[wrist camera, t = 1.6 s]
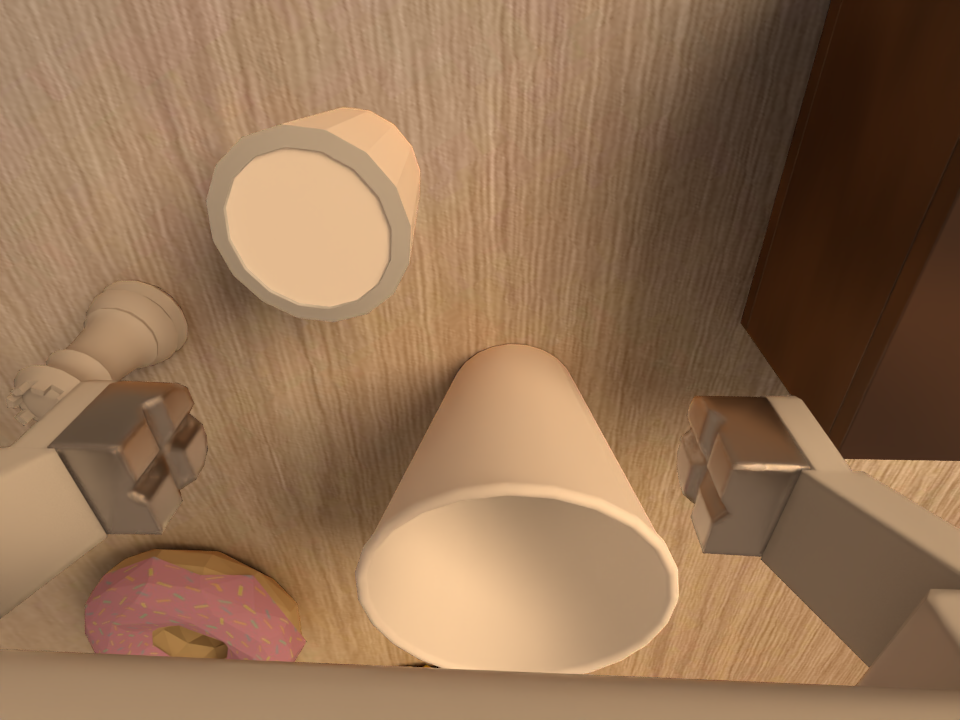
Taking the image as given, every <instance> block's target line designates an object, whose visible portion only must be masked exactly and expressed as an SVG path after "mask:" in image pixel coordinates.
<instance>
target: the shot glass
mask: <svg viewBox="0 0 960 720" xmlns="http://www.w3.org/2000/svg"><path fill="white" fill-rule="evenodd" d="M420 174H421V171H420V168H419V165H418V163H417V160H416V157H415V154H414V151H413V148H412V146H411V144H410V143H409V142H408V141H407V140H406V138H405V137H404V136H403V135H402V133H401V132H400V131H399V130H398V129H397V127H396V126H395V125H394V124H393V123H391V122H389V121H387V120H386V119H384V118H382V117H380V116H379V115H377V114H375V113H373V112H372V111H370V110H362V109H355V108H347V107H341V108H338V109H334V110H331V111H327V112H323V113H320V114H316V115H312V116H309V117H305V118H302V119H298V120H294V121H291V122H287V123H283V124H280V125H277V126H274V127H271V128H268V129H265V130H262V131H258V132H255V133H252V134H249V135H246V136H243V137H241V138H240V139H239V141H238V142H237V143H236V144H235V145H234V146H233V147H232V148H231V149H230V150H229V151H228V152H227V153H226V154H225V155H224V156H223V157H222V159H221V160H220V161H219V162H218V163H217V164H216V165H215V169H214V173H213V177H212V181H211V184H210V188H209V192H208V196H207V199H206V205H207V210H208V216H209V222H210V228H211V234H212V240H213V242H214V243H215V245H216V247H217V249H218V250H219V252H220V254H221V255H222V257H223V259H224V261H225V262H226V264H227V266H228V268H229V269H230V271H231V273H232V274H233V276H235V277H236V278H237V279H238V280H239V281H240V282H241V283H242V284H243V285H245V286H246V287H247V288H248V289H249V290H250V291H251V292H252V293H253V294H255V295H256V296H257V297H258V298H259V299H260V300H261V301H262V302H264V303H266V304H269V305H271V306H273V307H275V308H277V309H279V310H282V311H284V312H286V313H288V314H290V315H292V316H295V317H297V318H302V319H311V320H319V321H328V322H337V321H341V320H345V319H349V318H353V317H357V316H361V315H366V314H368V313H369V312H371V311H372V310H373V309H375V308H376V307H377V306H379V305H380V304H381V303H383V302H384V301H385V300H387V299H388V298H389V297H390V296H392V295H393V294H394V292H395V291H396V289H397V287H398V285H399V283H400V281H401V279H402V277H403V275H404V273H405V271H406V269H407V267H408V265H409V263H410V256H411V249H412V243H413V236H414V229H415V223H416V216H417V209H418V203H419V194H420Z"/></svg>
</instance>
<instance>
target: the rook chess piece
mask: <svg viewBox="0 0 960 720" xmlns="http://www.w3.org/2000/svg"><path fill="white" fill-rule="evenodd" d="M187 330H188V325H187V322H186V320H185V317H184V314H183V312H182V309H181V307H180V306H179V305H178V304H177V303H176V302H175V300H174V299H173V298H172V297H171V296H170V295H168V294H167V293H165V292H164V291H162V290H161V289H159V288H158V287H156V286H153V285H149V284H146V283H143V282H140V281H136V280H130V281H117V282H115V283H113V284H111V285H109V286H107V287H105V288H104V290H103V292H102V293H101V294H99V295H97V296H95V298H94V300H93V302H92V303H91V305H90V307H89V308H88V310H87V312H86V320H85V322H84V329H83V331H82V332H81V333H80V334H79V335H78V336H77V338H76V339H75V340H74V341H73V342H72V343H71V345H69V346H68V347H67V348H66V349H64V350H58V351H56V352H54V353H51V354H50V355H49V357H48V359H47V361H46V365H31V366H28V367H26V368H24V369H21V370H19V372H18V373H17V375H16V377H15V379H14V389H12V390H11V391H10V392H11V393H12V394H11V395H10V396H9V397H7V398H6V402H7V408H13V409H15V408H16V407H18V406H20V408H21V409H22V411H21V412H19V413H18V414H17V415H16V416H15V417H14V418H15V419H16V420H17V421H19V422H20V423H21V424H22V425H23V426H24V425H26V424H27V423H28V422H29V421H30V420H31V419H33V420H35V421H38V420H39V419H41V418H42V417H43V416H44V415H45V414H46V413H47V412H48V411H49V410H50V409H51V408H52V407H54V406H55V405H56V404H57V403H58V402H59V401H60V400H61V399H62V398H63V397H64V396H65V395H67V394H68V393H69V392H70V391H71V390H72V389H73V388H74V387H75V386H76V385H77V384H78V383H80V382H84V381H88V380H115V381H119V380H120V379H122V378H123V377H125V376H126V375H128V374H129V373H130V372H132V371H133V370H135V369H141V368H144V367H146V366H153V365H155V364H158V363H160V362H162V361H165V360H167V359H169V358H170V357H171V356H172V354H173V353H174V352H175V351H178V350H180V348H181V347H182V346H183V344H184V343H185V341H186V340H187Z"/></svg>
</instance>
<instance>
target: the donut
mask: <svg viewBox="0 0 960 720" xmlns="http://www.w3.org/2000/svg"><path fill="white" fill-rule="evenodd" d="M85 634H86V636H87V638H88V640H89V642H90V644H91V646H92V648H93V650H94V652H95V653H101V654H124V655H147V656H170V657H192V658H216V659H239V660H262V661H285V662H294V661H295V660H296V658H297V656H298V655H299V653H300V652H301V650H302V648H303V647H304V645H305V643H306V642H307V641H306V640H305V639H304V638H303V637H302V633H301V625H300V618H299V610H298V604H297V603H296V602H295V601H294V600H293V599H292V598H291V597H290V595H289V594H288V593H287V592H286V591H285V590H284V589H283V588H282V587H281V586H280V585H279V584H278V583H277V582H276V581H275V580H274V579H272V578H270V577H268V576H266V575H264V574H262V573H260V572H258V571H257V570H255V569H253V568H251V567H249V566H247V565H245V564H243V563H241V562H239V561H237V560H235V559H233V558H231V557H229V556H227V555H225V554H223V553H221V552H219V551H200V550H166V549H152V550H149V551H146V552H143V553H140V554H138V555H135V556H132V557H129V558H126V559H124V560H123V561H122V562H120V563H119V564H118V565H116V566H115V567H114V568H112V569H111V570H110V571H108V572H107V573H106V574H105V575H104V576H103V577H102V579H101V580H100V581H99V583H98V584H97V586H96V587H95V588H94V590H93V591H92V593H91V595H90V597H89V599H88V600H87V602H86V604H85Z"/></svg>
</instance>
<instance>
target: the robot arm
mask: <svg viewBox="0 0 960 720" xmlns="http://www.w3.org/2000/svg"><path fill="white" fill-rule="evenodd" d="M193 405H194V401H193V399H192V397H191V394H190V392H189V390H188V388H187V387H186V386H183V385H181V384H179V383H165V382H143V381H122V380H120V381H115V380H88V381H84V382H80V383H78V384H77V385H76V386H75V387H74V388H73V389H72V390H71V391H70V392H69V393H68V394H67V395H65V396H64V397H63V398H62V399H61V400H60V401H59V402H58V403H57V404H56V405H55V406H54V407H52V408H51V409H50V410H49V411H48V412H47V413H46V414H45V415H44V416H43V417H42V418H41V419H39V420H38V421H37V422H36V423H35V424H34V425H33V426H32V427H31V428H30V429H29V430H28V431H26V432H25V433H24V434H23V435H22V436H21V437H20V438H19V439H18V440H17V441H16V442H15V443H13V444H12V445H11V446H10V447H0V619H1V618H2V617H3V616H5V615H6V614H7V613H9V612H10V611H11V610H12V609H14V608H15V607H16V606H18V605H19V604H20V603H22V602H23V601H24V600H26V599H27V598H28V597H29V596H31V595H32V594H33V593H35V592H36V591H37V590H39V589H40V588H41V587H43V586H44V585H45V584H47V583H48V582H49V581H50V580H52V579H53V578H54V577H56V576H57V575H58V574H60V573H61V572H62V571H64V570H65V569H66V568H67V567H69V566H70V565H71V564H73V563H74V562H75V561H77V560H78V559H79V558H81V557H82V556H83V555H84V554H86V553H87V552H88V551H90V550H91V549H92V548H94V547H95V546H96V545H98V544H99V543H100V542H102V541H103V540H104V539H105V538H107V534H162V532H163V531H164V529H165V528H166V526H167V525H168V523H169V521H170V520H171V518H172V517H173V515H174V514H175V512H176V510H177V509H178V507H179V506H180V504H181V503H182V501H183V500H182V496H181V492H180V489H182V488H184V487H185V486H187V485H188V484H190V483H191V482H193V481H194V480H196V479H197V477H198V475H199V474H200V472H201V470H202V468H203V467H204V464H205V459H206V455H207V451H208V445H207V435H206V432H205V430H204V427H203V424H202V423H200V422H199V421H198V420H197V419H196V418H194V417H193V416H192V415H191V414H189V413H190V411H191V409H192V407H193ZM687 418H688V420H689V423H690V425H691V429H690V430H689V431H687V432H686V433H685V434H684V435H682V436H681V438H680V443H679V447H678V451H677V473H678V479H679V483H680V486H681V489H682V493H683V495H684V496H686V497H687V498H688V499H689V500H690V501H692V502H693V503H694V504H695V505H694V508H693V511H692V514H691V519H692V522H693V525H694V528H695V531H696V534H697V537H698V540H699V542H700V545H701V548H702V551H703V553H710V554H726V555H743V556H759V557H762V558H761V560H762V561H763V562H764V563H765V564H766V565H767V566H768V567H769V568H770V569H771V570H772V571H773V572H774V573H775V574H776V575H777V576H778V577H779V578H780V579H781V580H782V581H783V582H784V583H785V584H786V585H787V586H788V587H789V588H790V589H791V590H792V591H793V592H794V593H795V594H796V595H797V596H798V597H799V598H800V599H801V600H802V601H803V602H804V603H805V604H806V605H807V606H808V607H809V608H810V609H811V610H812V611H813V612H814V613H815V614H816V615H817V616H818V617H819V618H820V619H821V620H822V621H823V622H824V623H825V624H826V625H827V626H828V627H829V628H830V629H831V630H832V631H833V632H834V633H835V634H836V635H837V636H838V637H839V638H840V639H841V640H842V641H843V642H844V643H845V644H846V645H847V646H848V647H849V648H850V649H851V650H852V651H853V652H854V653H855V654H856V655H857V656H858V657H859V658H860V659H861V660H862V661H863V662H864V663H865V664H866V665H867V666H868V667H869V669H868V670H867V671H866V672H865V674H864V675H863V676H862V678H861V679H860V680H859V681H858V683H857V684H856V685H855V686H843V685H820V684H797V683H774V682H751V681H728V680H705V679H682V678H659V677H635V676H612V675H589V674H565V673H542V672H518V671H495V670H472V669H448V668H425V667H402V666H379V665H355V664H332V663H309V662H285V661H262V660H239V659H216V658H192V657H170V656H147V655H124V654H101V653H78V652H55V651H32V650H9V649H0V720H960V529H959V528H957V527H955V526H954V525H952V524H950V523H949V522H947V521H945V520H944V519H942V518H940V517H939V516H937V515H935V514H934V513H932V512H930V511H929V510H927V509H925V508H924V507H922V506H920V505H918V504H917V503H915V502H913V501H912V500H910V499H908V498H907V497H905V496H903V495H902V494H900V493H898V492H897V491H895V490H893V489H892V488H890V487H888V486H887V485H885V484H883V483H882V482H880V481H878V480H877V479H875V478H873V477H872V476H870V475H868V474H867V473H865V472H860V471H852V470H851V468H850V467H849V466H848V464H847V463H846V461H845V460H844V458H843V457H842V456H841V454H840V453H839V451H838V450H837V449H836V447H835V446H834V444H833V443H832V442H831V440H830V439H829V437H828V436H827V434H826V433H825V432H824V430H823V429H822V427H821V426H820V425H819V423H818V422H817V420H816V419H815V417H814V416H813V415H812V413H811V412H810V410H809V409H808V408H807V406H806V405H805V403H804V402H803V401H802V400H801V399H799V398H798V397H796V396H760V397H742V396H694V398H693V400H692V401H691V403H690V406H689V409H688V413H687Z"/></svg>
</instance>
